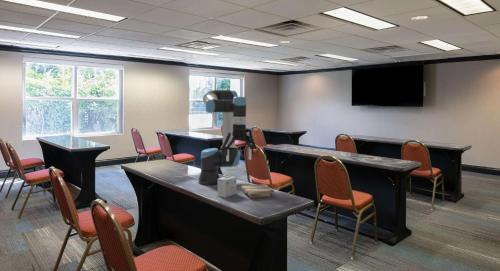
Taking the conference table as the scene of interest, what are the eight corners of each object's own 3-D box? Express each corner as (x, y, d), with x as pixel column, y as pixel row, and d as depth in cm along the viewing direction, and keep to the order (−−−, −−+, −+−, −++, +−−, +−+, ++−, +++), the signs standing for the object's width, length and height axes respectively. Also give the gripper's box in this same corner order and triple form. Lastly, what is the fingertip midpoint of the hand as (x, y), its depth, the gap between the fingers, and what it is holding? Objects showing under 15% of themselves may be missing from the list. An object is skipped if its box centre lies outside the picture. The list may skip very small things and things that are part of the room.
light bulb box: (228, 192, 209) (228, 175, 208) (236, 194, 205) (236, 176, 204) (216, 196, 200) (217, 178, 199) (225, 198, 196) (225, 180, 195)
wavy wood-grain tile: (240, 191, 210) (240, 185, 209) (264, 190, 215) (264, 183, 214) (248, 199, 194) (249, 192, 194) (274, 197, 199) (274, 190, 199)
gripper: (219, 124, 184) (219, 162, 187) (262, 124, 192) (261, 160, 195) (216, 123, 191) (216, 160, 194) (257, 123, 199) (256, 158, 202)
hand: (238, 160), depth 194 cm, fingers open, 13 cm apart
